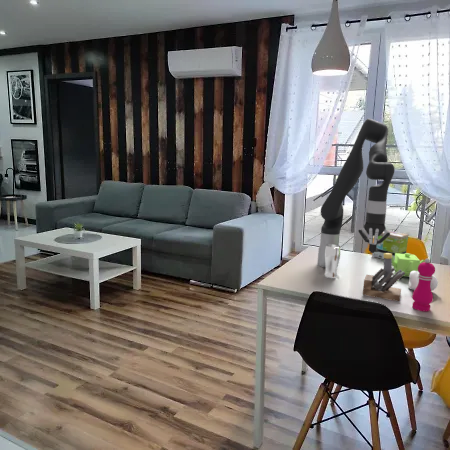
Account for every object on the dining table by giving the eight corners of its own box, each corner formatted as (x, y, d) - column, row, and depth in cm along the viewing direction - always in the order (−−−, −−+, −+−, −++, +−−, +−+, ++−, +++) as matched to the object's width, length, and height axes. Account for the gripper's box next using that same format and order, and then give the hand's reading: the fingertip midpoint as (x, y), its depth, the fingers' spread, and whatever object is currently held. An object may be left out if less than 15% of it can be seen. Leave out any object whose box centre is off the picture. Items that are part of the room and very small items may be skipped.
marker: (383, 282, 173) (383, 254, 171) (383, 280, 176) (384, 252, 174) (391, 283, 172) (391, 254, 170) (391, 281, 174) (392, 253, 172)
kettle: (409, 282, 192) (412, 259, 190) (382, 274, 203) (385, 252, 201) (427, 277, 200) (430, 255, 198) (400, 269, 212) (402, 248, 210)
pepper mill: (407, 304, 165) (413, 255, 161) (424, 304, 166) (431, 256, 162) (417, 312, 158) (423, 261, 154) (435, 312, 159) (442, 261, 155)
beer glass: (339, 275, 198) (342, 245, 195) (336, 279, 192) (339, 248, 189) (324, 273, 201) (327, 243, 198) (321, 277, 195) (324, 246, 192)
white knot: (399, 286, 187) (401, 266, 185) (425, 286, 188) (427, 267, 186) (412, 295, 176) (414, 275, 174) (439, 295, 177) (442, 275, 175)
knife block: (362, 294, 174) (365, 268, 172) (365, 288, 182) (367, 263, 180) (401, 301, 168) (404, 274, 166) (402, 294, 176) (405, 268, 174)
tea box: (371, 256, 234) (374, 231, 231) (380, 254, 241) (382, 229, 238) (397, 263, 223) (400, 236, 220) (405, 260, 230) (409, 233, 227)
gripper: (394, 211, 172) (389, 252, 175) (360, 208, 177) (357, 248, 180) (393, 214, 165) (388, 256, 168) (358, 211, 170) (354, 252, 174)
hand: (372, 252), depth 174 cm, fingers closed
